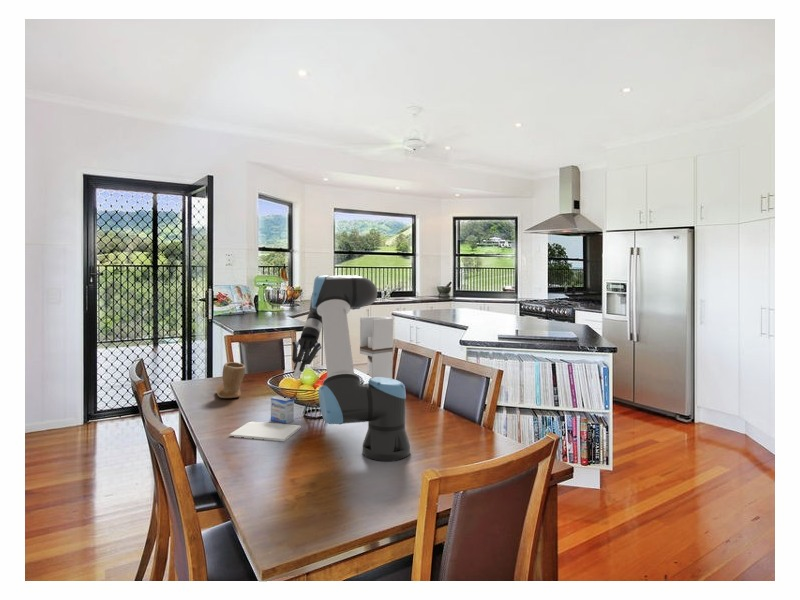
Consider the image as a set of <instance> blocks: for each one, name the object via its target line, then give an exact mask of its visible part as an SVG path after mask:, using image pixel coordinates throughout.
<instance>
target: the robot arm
mask: <svg viewBox="0 0 800 600" xmlns="http://www.w3.org/2000/svg"><path fill="white" fill-rule="evenodd" d="M312 288H313V289H312V293H311V295H310V296H311V297H310V303H309V311H308V315H307V317H306V320H305V323H304V326H303V328H302V332H301V334H300V338H299V339H298V340H297V341H296V342H295V341H292V343H291V344H292V347H293V348H292V358H291V359H292V360H291V361H292V362H293V364H294V367H293V369H294V373H293V377H294V379H295V380H299V379H300V377H301V374H302V373H303V372H304V370H305V367H306V365H311V363H313V360H314V359H315V357H316V355H317V354H318V352H319V351H320V350H321V349H322V345H321V343H320V342H318V341H319V338H320V335H321V331H323V332H322V333H323V334H322V335H323V343H324V354H325V355H324V356H325V365H326V366H325V368H326V376H327V377H326V378H325V379H324V380H322V381H323V382H322V385H321V386H319V388H318V399H319V401H318V402H319V403H318V404H319V409H320V414H321V416H322V419H323V421H324V422H325V423H326V424H328V425H345V424H354V423H355V424H356V423H368V425H367V427H368V428H367V431H366V434H365V437H364V440H363V443H362V455H363V456H365V457H367V458H368V459H371V460H375V461H381V462H392V460H394V461H398V459H400V460H402V458H403V459H405V458H407V457H408V456H410V454H409V453H411V444H410V440H409V437H408V433H407V431H406V399H407V395H406V393H407V392H406V386H405V384H404V383H403V382H402V381H400V380H398V379H394V378H392V379H390V378H383V377H374V378H372V377H370V378H369V379H368V383H361V379H360V376H359V375H357V374H356V373H355V369H354V362H353V355H352V354H353V352H352V345H351V338H350V330H349V323H348V321H349V320H348V315H347V314H349V312H350V311H351V310H360V309H361V308H365V307H368V306H371V305H372V304H374V302H375V301H376V300H377V298H378V288H377V287H376V285H375V283H374V282H373V281H372V280H370V279H369V278H366V277H365V276H360V275H329V274H326V275H325V274H324V275H317V276H316V277H315V278H314V281H313V287H312ZM298 348H299V351H298ZM406 456H407V457H406ZM404 457H405V458H404Z"/></svg>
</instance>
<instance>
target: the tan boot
mask: <svg viewBox="0 0 800 600" xmlns="http://www.w3.org/2000/svg"><path fill="white" fill-rule="evenodd" d="M245 373H246V365H245V364H243V363H239V362H235V361H228V362H226V363H225V364H224V365H223V367H222V375H221V376H222V383H223V384H222V385H219V386H217V388H216V394H217V396H218V397H219V398H221V399H233V398H239V397H240V396H241V395H242V392H241V389H240V387H241V383H242V382H243V380H244V377H245Z"/></svg>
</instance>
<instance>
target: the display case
mask: <svg viewBox="0 0 800 600" xmlns="http://www.w3.org/2000/svg"><path fill="white" fill-rule="evenodd" d="M359 323H360V325H359V355H364V356H367V365H366V366H367V368H366V369H367V372H366V373H367V375H368V376H369V377H370V378H374V377H383V378H390V379H393V365H394V363H393V360H394V358H393V357H394V355H393V354H394V318H393V317H388V316H382V315H381V316H376V315H375V316H363V317H362V316H361V317H359Z"/></svg>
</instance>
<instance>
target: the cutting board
mask: <svg viewBox="0 0 800 600" xmlns="http://www.w3.org/2000/svg"><path fill="white" fill-rule="evenodd" d="M301 428H302V426H301V425H299V424H297V425H296V424H289V423H287V424H286V423H277V422H276V423H275V422H263V421H249V422H247V423H245V424H244V425H242V426H241V427H239V428H237V429H236V430H234V431H232V432H231V433H229V437H230V436H234V437H233V438H241V437H244V438H243V439H252V438H254V440H263V439H264V440H265V441H274V442H286V441H287V440H288V439H289V438H290V437H291V436H293V435H294V434H296V432H298V431H299V430H300V429H301Z"/></svg>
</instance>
